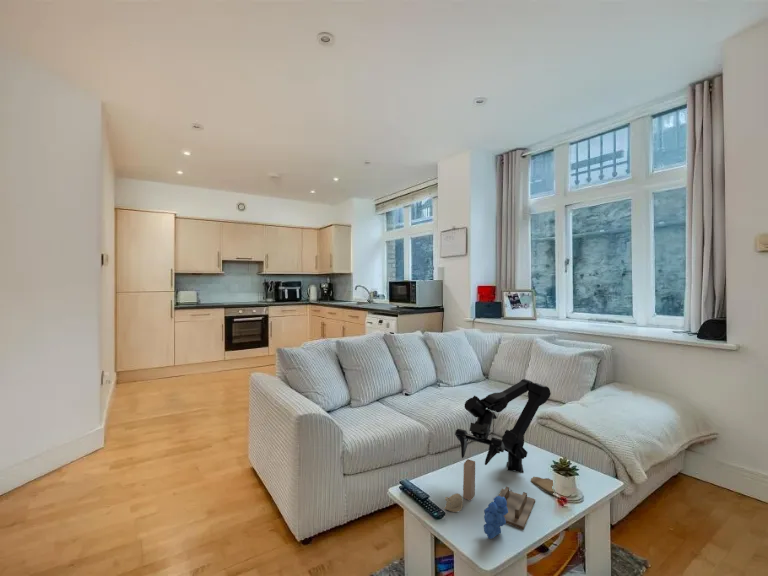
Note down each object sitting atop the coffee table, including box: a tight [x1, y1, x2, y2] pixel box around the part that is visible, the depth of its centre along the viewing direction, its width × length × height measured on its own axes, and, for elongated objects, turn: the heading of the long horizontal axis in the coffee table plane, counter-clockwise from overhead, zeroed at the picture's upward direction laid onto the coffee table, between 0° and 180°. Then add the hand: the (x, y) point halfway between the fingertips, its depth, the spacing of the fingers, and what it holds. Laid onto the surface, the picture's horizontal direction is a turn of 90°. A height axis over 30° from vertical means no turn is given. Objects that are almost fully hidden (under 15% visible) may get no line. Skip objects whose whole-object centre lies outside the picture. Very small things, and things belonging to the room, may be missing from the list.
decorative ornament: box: [443, 493, 464, 513], centre depth 129 cm, size 4×8×5 cm, turn 120°
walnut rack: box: [497, 486, 536, 530], centre depth 130 cm, size 18×12×4 cm, turn 146°
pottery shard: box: [530, 476, 554, 495], centre depth 143 cm, size 8×3×15 cm
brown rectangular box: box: [462, 458, 476, 502], centre depth 137 cm, size 3×4×13 cm
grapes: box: [483, 495, 508, 540], centre depth 117 cm, size 12×7×12 cm, turn 131°
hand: (473, 461), depth 141 cm, fingers open, 9 cm apart
